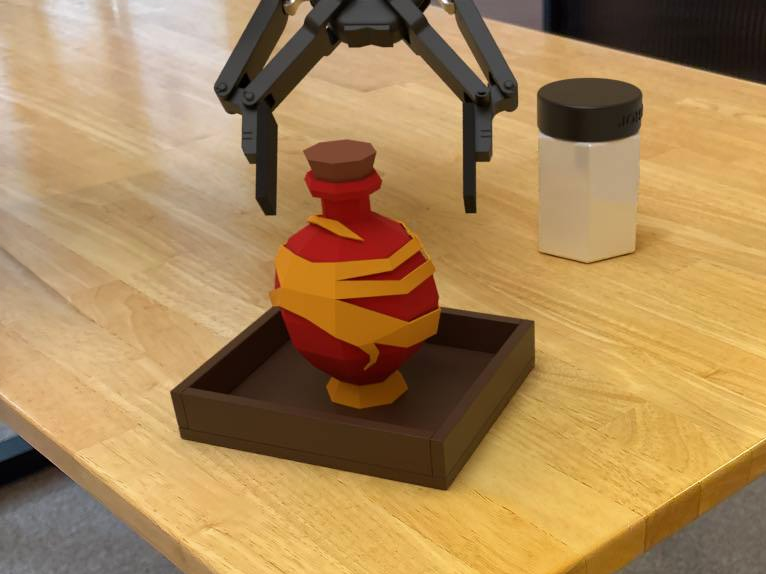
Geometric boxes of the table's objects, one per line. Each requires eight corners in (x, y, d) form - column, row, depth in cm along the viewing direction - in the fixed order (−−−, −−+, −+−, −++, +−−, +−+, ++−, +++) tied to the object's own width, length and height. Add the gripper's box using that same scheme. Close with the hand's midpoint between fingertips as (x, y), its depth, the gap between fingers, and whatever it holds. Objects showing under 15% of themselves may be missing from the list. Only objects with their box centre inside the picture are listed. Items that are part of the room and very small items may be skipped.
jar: (639, 264, 86) (647, 108, 79) (536, 264, 86) (535, 108, 79) (632, 221, 93) (640, 75, 86) (538, 221, 93) (537, 75, 86)
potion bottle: (255, 385, 70) (210, 149, 61) (386, 335, 75) (364, 112, 66) (346, 450, 63) (311, 199, 54) (482, 391, 69) (472, 154, 60)
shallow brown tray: (180, 438, 66) (169, 391, 64) (304, 327, 78) (297, 284, 76) (446, 490, 62) (442, 441, 60) (535, 364, 73) (534, 320, 71)
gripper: (548, -52, 79) (553, 227, 76) (205, -49, 79) (198, 231, 76) (550, -128, 71) (555, 178, 69) (171, -125, 71) (161, 182, 68)
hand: (368, 206), depth 72 cm, fingers open, 13 cm apart
